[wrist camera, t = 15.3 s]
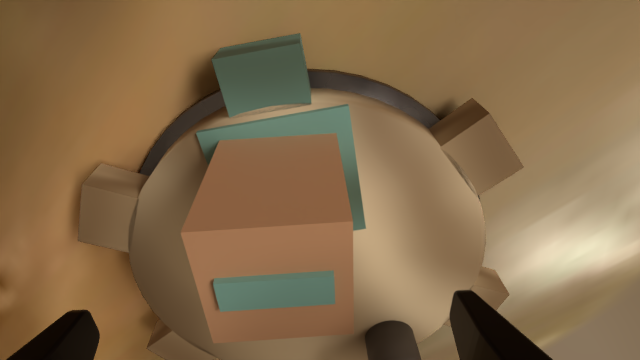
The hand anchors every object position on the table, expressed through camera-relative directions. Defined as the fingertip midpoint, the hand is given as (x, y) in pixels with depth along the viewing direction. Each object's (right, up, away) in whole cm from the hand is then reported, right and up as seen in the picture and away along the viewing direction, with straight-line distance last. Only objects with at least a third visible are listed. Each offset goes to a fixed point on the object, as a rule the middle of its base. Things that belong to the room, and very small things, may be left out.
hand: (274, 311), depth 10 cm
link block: (0, +3, +5) cm, 6 cm away
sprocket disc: (+1, +1, +9) cm, 9 cm away
